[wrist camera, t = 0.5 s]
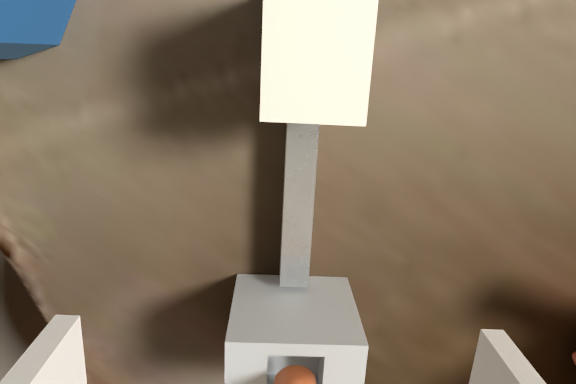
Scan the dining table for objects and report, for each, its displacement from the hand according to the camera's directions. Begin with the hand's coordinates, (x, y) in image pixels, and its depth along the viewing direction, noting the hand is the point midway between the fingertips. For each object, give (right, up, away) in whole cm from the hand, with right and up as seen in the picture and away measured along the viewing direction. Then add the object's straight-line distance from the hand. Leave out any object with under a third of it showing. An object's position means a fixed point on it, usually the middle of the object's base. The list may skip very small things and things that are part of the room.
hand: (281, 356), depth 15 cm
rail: (+1, +11, +22) cm, 24 cm away
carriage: (+2, +16, +20) cm, 26 cm away
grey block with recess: (0, -5, +27) cm, 27 cm away
